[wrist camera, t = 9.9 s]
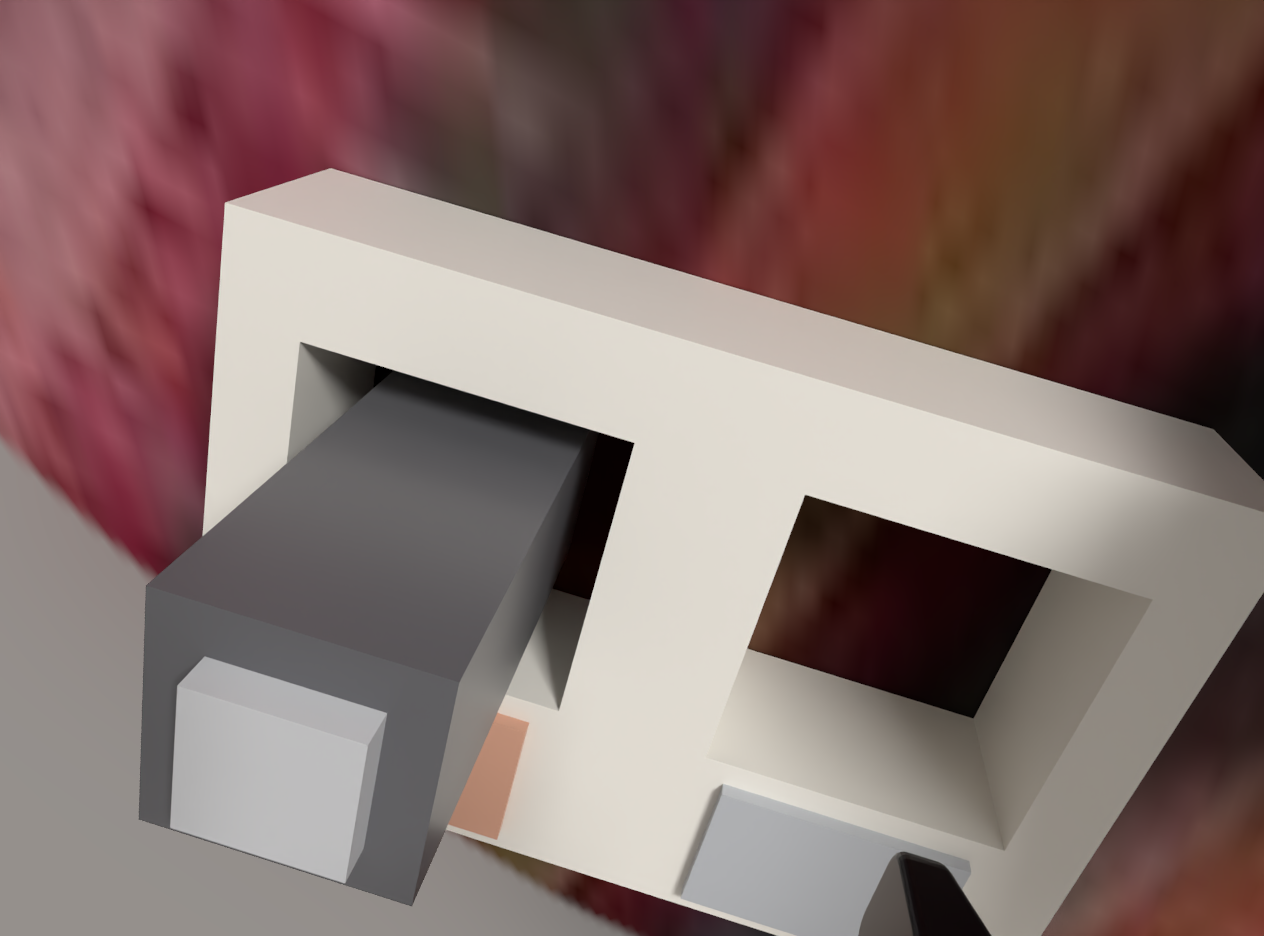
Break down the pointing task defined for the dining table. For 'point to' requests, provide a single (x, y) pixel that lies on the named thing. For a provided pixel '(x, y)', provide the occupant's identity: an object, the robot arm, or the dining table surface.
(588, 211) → the dining table surface
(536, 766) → the socket block
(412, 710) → the grey rectangular block
